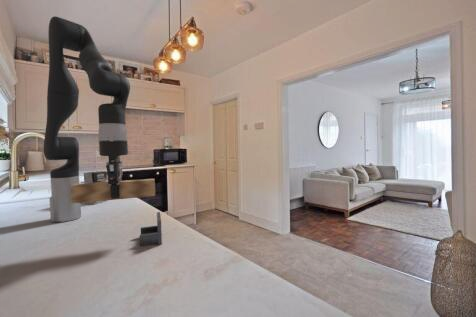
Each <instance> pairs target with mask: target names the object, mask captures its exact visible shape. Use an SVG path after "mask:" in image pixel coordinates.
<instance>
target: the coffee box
mask: <svg viewBox="0 0 476 317" xmlns="http://www.w3.org/2000/svg"><path fill="white" fill-rule="evenodd" d="M94 182H108V176H107V170H106V171H105V170H102V171H99V170H98V171H91V172H83V183H94ZM106 201H109V200H105V201H94V202H84V205H97V204H101V203H104V202H106Z"/></svg>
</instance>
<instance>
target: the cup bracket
mask: <svg viewBox="0 0 476 317" xmlns="http://www.w3.org/2000/svg"><path fill="white" fill-rule="evenodd" d="M161 216H162V215H161V211H158V212H156V225H151V226H149V225H148V226H142V227H140V234H139V247H141V246H142V247H145V246H149V245H156V244H157V245H158V246H160V245H162V244H163V242H162V240H163V239H162V238H163V237H162V236H163V234H162V218H161Z"/></svg>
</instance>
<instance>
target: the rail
mask: <svg viewBox="0 0 476 317" xmlns="http://www.w3.org/2000/svg"><path fill="white" fill-rule="evenodd" d="M119 182H120V184H119V193H120V197H119V198H113V199H112V198H111V189H110V185H109V184H108V181H107V182H94V183H84V182H83V183H82V182H81V183H80V182H79V184H73V185H71V203H80V204H81V203H85V202H94V201H104V202H106V201H105V200H108V201H115V200H116V201H117V200H124V199H125V200H126V199H137V198H148V197H155V196H156V182H155V178H144V179H143V178H142V179H129V180H127V179H125V180H122V181H119Z"/></svg>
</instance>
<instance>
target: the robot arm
mask: <svg viewBox="0 0 476 317" xmlns="http://www.w3.org/2000/svg"><path fill="white" fill-rule="evenodd" d="M64 49H65V50H69V51H72V52H76V53H79V54H78V61H79V62H78V63H79V64H80V67H82V69H83V71H84V72H85V73H86V75H87V79H88V84H89V87H90V90H92V92H94V93H96V94H97V95H100V96H107V97H113V100H112V102H108V103H102V104H100V105H99V106H98V108H97V110H98V112H97V113H98V114H97V115H98V148H99V156H100V157H108V161H107V162H106V164H105V168H106V171H107V182H108V184H109V185H110V189H111V198H112V199H113V198H119V197H120V193H119V184H120V182H119V181H123V165H124V164H123V161H121V158H120V156H127V155H128V154H129V146H128V131H127V126H126V110H127V109H126V108H127V104H128V99H129V95H130V91H131V83H130V81H129V79H128V78H127V77H126V76H125V75H124V74H121V73H118V72H113V68H112V67H111V65H110V64H109V62H108V61H107V60H106V58H104V57H103V55H102V54H101V52H100V51H99V49H98V47H97V46H96V43H95V42H94V40H93V37H92V35H91V34H90V32H89V30H88V29H87V28H86V27H85V26H83V25H82V24H80V23H77V22H74V21H71V20H68V19H66V18H62V17H60V16H59V17H58V16H52V17H51V18H50V20H49V24H48V57H49V58H48V62H49V65H48V66H49V67H48V80H47V91H46V93H47V95H46V125H45V131H44V140H43V141H44V142H43V155H44V158H45V159H46V160H48V161H66V163H65V164H63V165H61V166H59V167H56V168H54V169H51V171H50V172H49V173H50V174H49V175H50V176H49V177H50V191H51V192H50V193H51V197H49V213H50V214H49V215H50V222H51V223H55V222H56V223H61V222H62V223H65V222H70V221H74V220H77V219H80V218H81V217H82V210H81V209H82V208H81V207H82V206H81V203H71V185H73V184H79V183H80V145H79V141H78V139H77V138H76V137H74V136H58V135H59V132H60V130H61V128H62V126H63V125H64V123H66V121H67V120H68V119H69V118H70V117H71V116H72V115H73V114H74V113H75V111H76V110H77V108H78V106H79V98H80V97H79V95H80V88H79V86H78V84H77V82H76V80H75V79H74V76H72V74H71V72H70V70H69V68H68V67H67V63H66V61H65V57H64Z"/></svg>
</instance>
